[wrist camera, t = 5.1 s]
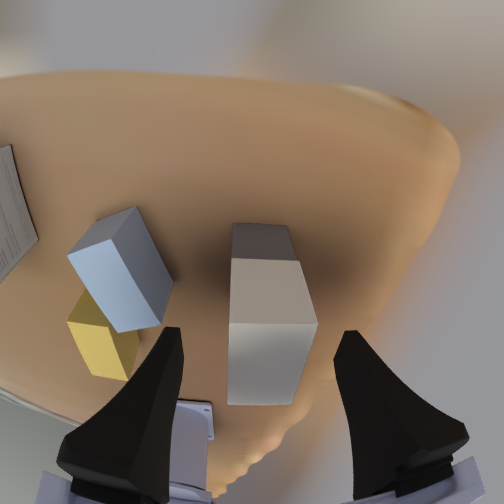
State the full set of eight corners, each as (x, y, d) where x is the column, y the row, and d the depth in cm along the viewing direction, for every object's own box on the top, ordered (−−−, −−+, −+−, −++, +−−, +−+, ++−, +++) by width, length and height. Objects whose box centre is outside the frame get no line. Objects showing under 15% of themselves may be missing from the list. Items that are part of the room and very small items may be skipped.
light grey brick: (282, 343, 16) (291, 404, 13) (228, 342, 16) (227, 404, 12) (299, 260, 13) (318, 324, 10) (231, 257, 13) (229, 322, 10)
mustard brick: (140, 340, 21) (128, 381, 18) (106, 336, 21) (91, 374, 18) (127, 285, 19) (108, 327, 15) (89, 282, 18) (66, 321, 15)
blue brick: (173, 281, 19) (161, 325, 15) (135, 290, 19) (117, 333, 15) (136, 205, 16) (111, 238, 12) (96, 220, 16) (66, 255, 13)
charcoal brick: (275, 300, 19) (282, 345, 16) (229, 299, 19) (228, 344, 16) (286, 225, 17) (298, 264, 13) (233, 222, 16) (230, 261, 13)
